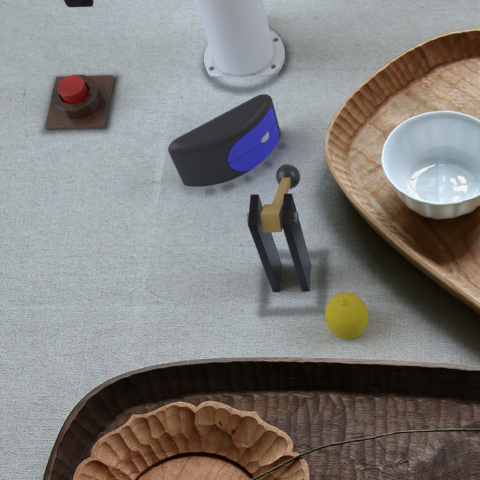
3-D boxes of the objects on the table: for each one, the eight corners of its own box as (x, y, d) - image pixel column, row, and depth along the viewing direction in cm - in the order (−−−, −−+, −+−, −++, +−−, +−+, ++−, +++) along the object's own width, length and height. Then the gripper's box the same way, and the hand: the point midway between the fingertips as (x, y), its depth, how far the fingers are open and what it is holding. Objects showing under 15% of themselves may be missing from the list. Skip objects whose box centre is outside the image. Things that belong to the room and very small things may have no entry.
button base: (58, 79, 127) (51, 67, 125) (114, 78, 127) (108, 66, 124) (46, 130, 123) (39, 118, 121) (104, 129, 123) (98, 117, 121)
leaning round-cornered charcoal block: (197, 206, 117) (178, 163, 108) (182, 185, 118) (162, 141, 109) (294, 153, 119) (282, 107, 111) (278, 133, 121) (266, 86, 112)
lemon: (340, 356, 106) (333, 327, 99) (322, 323, 108) (314, 293, 101) (378, 338, 107) (373, 308, 100) (359, 305, 109) (353, 274, 102)
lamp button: (64, 84, 124) (59, 75, 122) (90, 83, 124) (85, 74, 122) (60, 104, 122) (55, 96, 121) (86, 103, 122) (81, 95, 121)
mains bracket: (267, 255, 113) (239, 178, 97) (324, 254, 113) (305, 177, 97) (262, 312, 109) (233, 242, 94) (321, 311, 109) (301, 240, 94)
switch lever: (279, 183, 110) (276, 160, 108) (302, 183, 110) (300, 160, 108) (259, 235, 97) (255, 210, 95) (286, 235, 97) (282, 210, 95)
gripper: (28, -105, 76) (103, 49, 93) (55, -207, 81) (121, -44, 98) (-50, -102, 76) (39, 51, 93) (-17, -204, 82) (61, -42, 99)
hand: (81, 1), depth 96 cm, fingers closed
